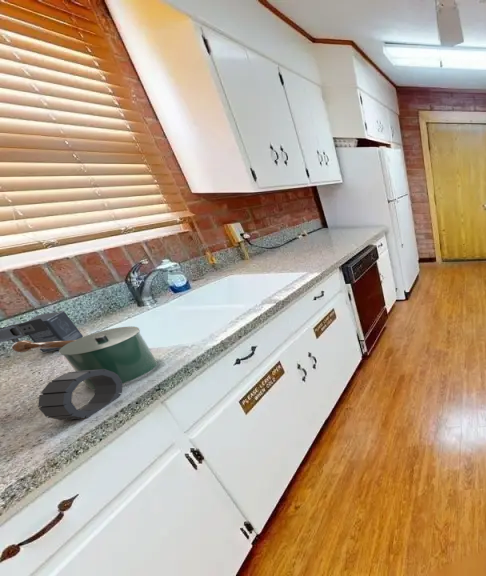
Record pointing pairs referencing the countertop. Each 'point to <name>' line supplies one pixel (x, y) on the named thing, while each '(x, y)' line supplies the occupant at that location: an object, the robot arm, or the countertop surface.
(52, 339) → the box
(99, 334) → the saucepan
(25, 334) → the robot arm
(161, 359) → the countertop surface
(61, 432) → the countertop surface
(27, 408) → the countertop surface
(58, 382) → the tire
